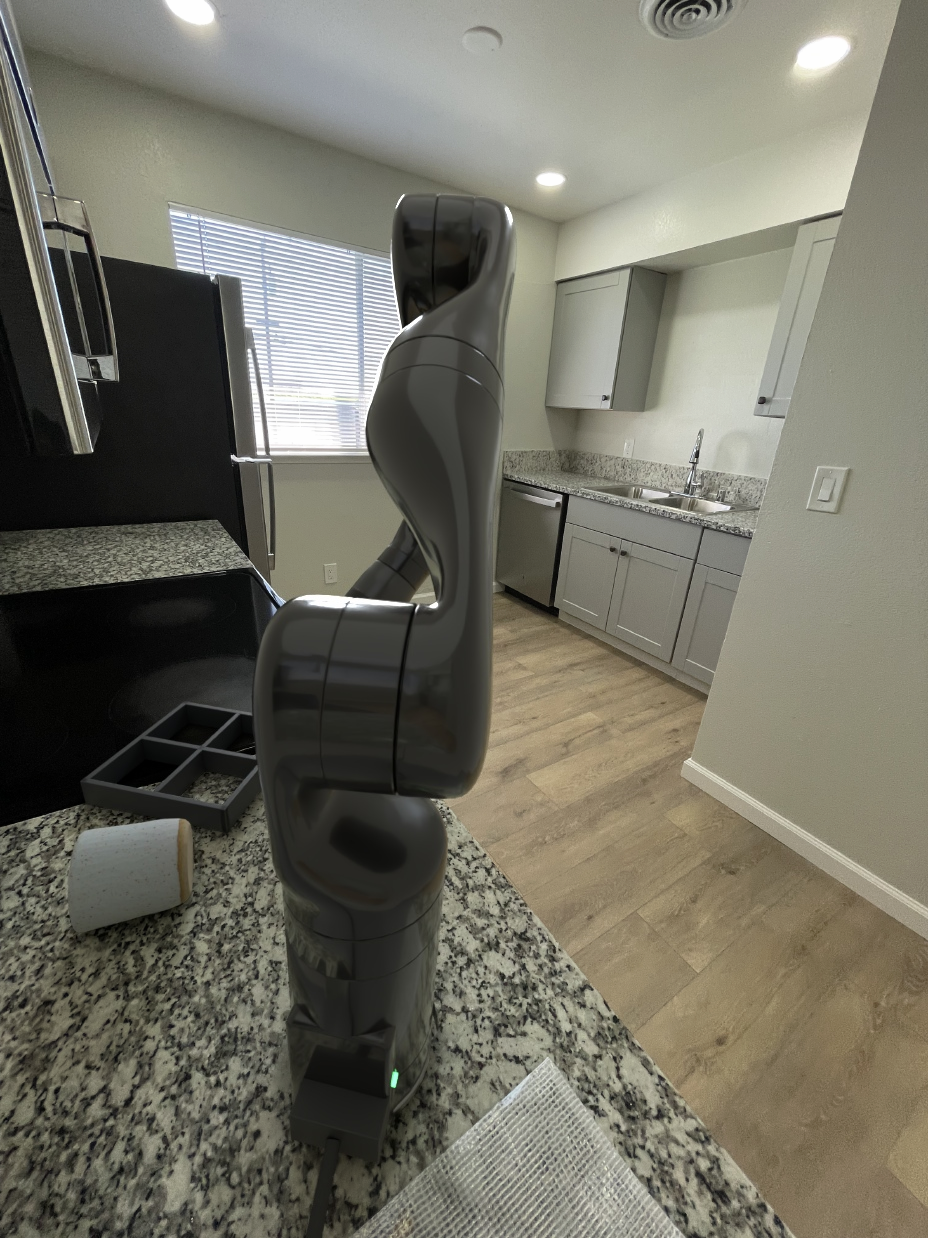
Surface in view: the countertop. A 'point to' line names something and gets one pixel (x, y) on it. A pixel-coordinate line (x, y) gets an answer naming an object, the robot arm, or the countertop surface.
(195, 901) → the countertop surface
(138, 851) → the ceramic mug
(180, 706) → the dark grey divided tray
